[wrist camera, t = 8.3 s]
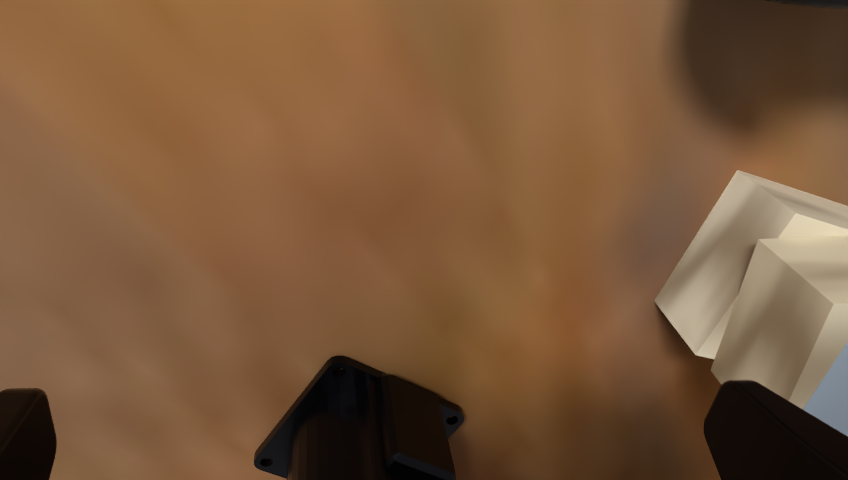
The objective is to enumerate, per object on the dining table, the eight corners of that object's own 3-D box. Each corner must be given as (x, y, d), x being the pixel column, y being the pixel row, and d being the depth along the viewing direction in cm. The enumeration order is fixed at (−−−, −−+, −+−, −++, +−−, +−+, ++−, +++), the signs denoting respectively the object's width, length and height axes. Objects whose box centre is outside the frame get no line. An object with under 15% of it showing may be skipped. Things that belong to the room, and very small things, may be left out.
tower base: (765, 325, 28) (820, 381, 25) (651, 297, 26) (695, 355, 23) (854, 207, 25) (927, 254, 22) (734, 167, 23) (795, 213, 20)
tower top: (846, 360, 24) (920, 430, 21) (710, 370, 23) (768, 445, 20) (909, 233, 21) (1006, 294, 18) (758, 239, 21) (833, 303, 18)
